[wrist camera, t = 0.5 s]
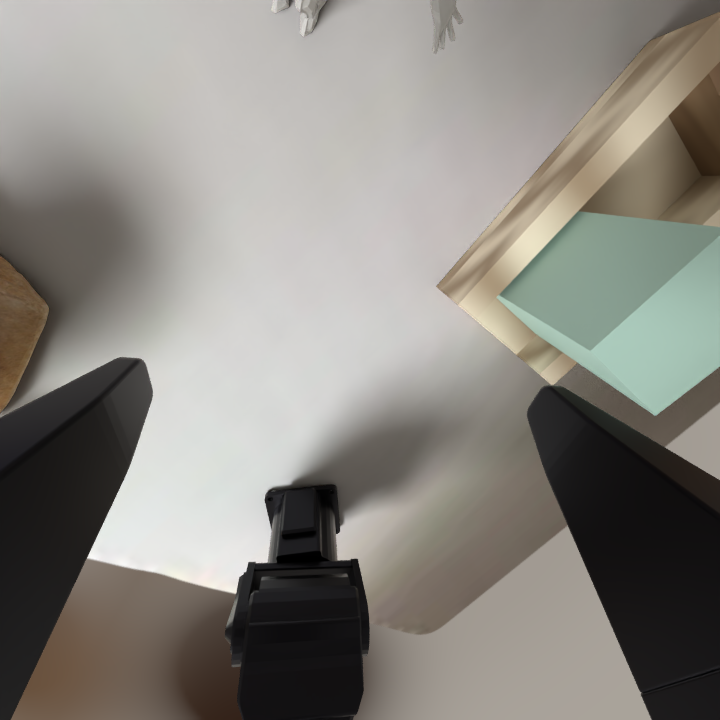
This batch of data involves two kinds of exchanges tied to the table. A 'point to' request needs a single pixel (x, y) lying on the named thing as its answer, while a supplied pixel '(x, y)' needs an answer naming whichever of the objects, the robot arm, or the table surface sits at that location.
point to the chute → (608, 178)
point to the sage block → (627, 302)
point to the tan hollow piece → (17, 327)
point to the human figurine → (441, 6)
